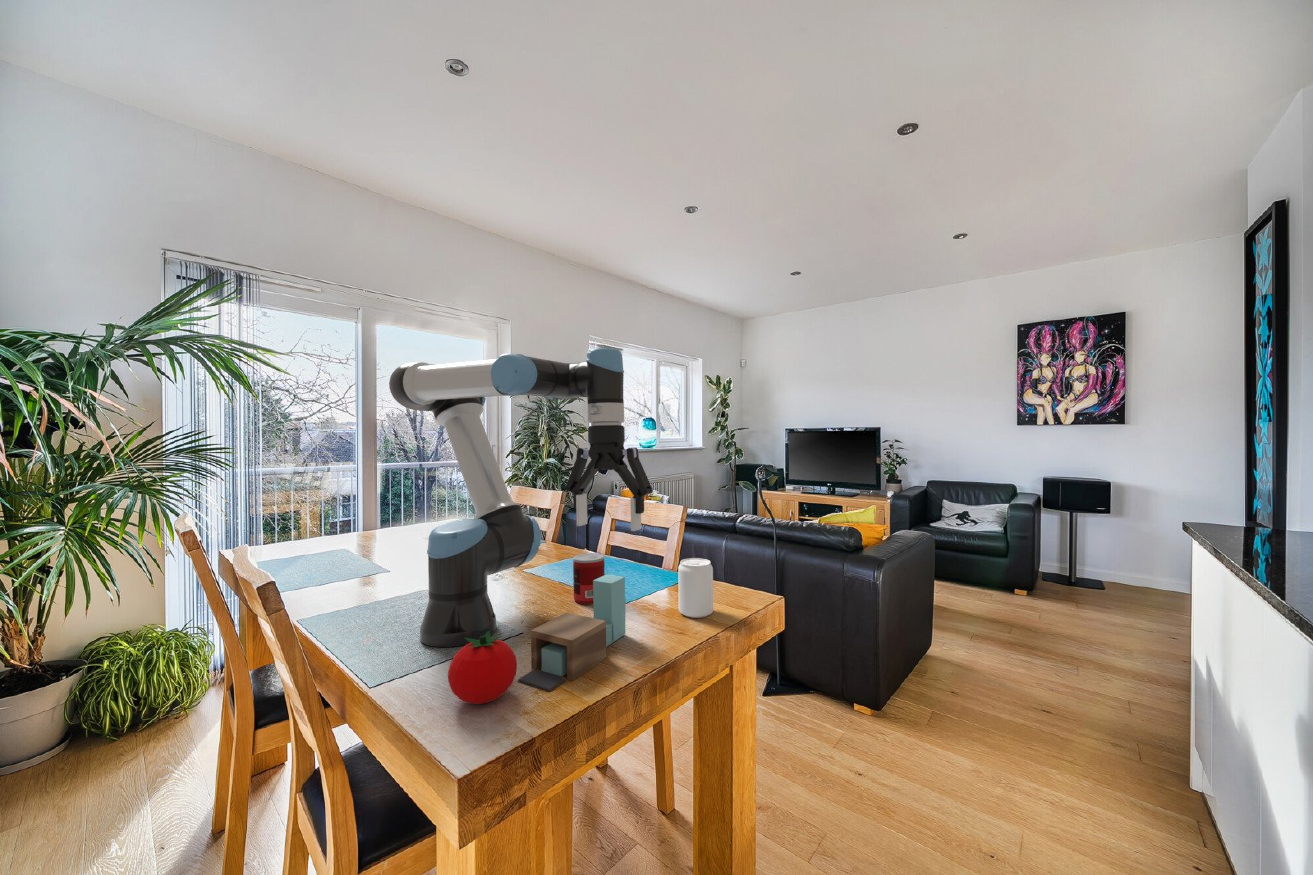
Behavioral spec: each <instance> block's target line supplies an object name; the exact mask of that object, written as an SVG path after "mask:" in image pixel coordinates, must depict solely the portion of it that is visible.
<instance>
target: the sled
mask: <svg viewBox="0 0 1313 875" xmlns="http://www.w3.org/2000/svg"><path fill="white" fill-rule="evenodd" d="M592 605H593V606H592V607H593V618H596V619H600V620H605V621H606V648H607V647H608V646H610V645H611V644H613V643H615V642H616V641H617V640H619V639H620V638H621V637H623V636H625V635H626V577H625V576H622V575H614V574H608V573H607V574H605V575H604V576H602V577H600V578H598V579H595V580H593V604H592ZM541 671H542V672H545V673H548V674H552V675H555V676H558V677H562V678H563V676H565V675H567V646H565V645H561V644H557V643H553V642H552V643H550V644H549V645H547V646H545V647H543V648H542V667H541Z"/></svg>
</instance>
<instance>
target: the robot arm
mask: <svg viewBox="0 0 1313 875" xmlns="http://www.w3.org/2000/svg"><path fill="white" fill-rule="evenodd" d="M623 362H624V359H623V354H622V352H621V351H620V350H618V349H616V348H606V347H605V348H603V347H602V348H601V347H599V348H593V349H589V350H588V351H587V352H586V357H585V361H580V362H569V363H568V362H561V361H555V360H550V359H545V358H543V359H542V358H537V357H533V356H527V355H523V354H520V353H502V354H501V355H499V356H498V357H497V358H493V359H485V360H475V361H474V360H473V361H464V362H454V363H453V362H452V363H444V364H434V363H433V364H432V363H428V362H424V361H423V362H422V361H421V362H415V361H414V362H407V363H403V364H401V365H399V366H398V367H397V368H395V369H394V371H393V372H392V373H391V375H390V377H389V383H388V384H389V391H390V394H391V395H392V397H393V399H394V400H395V401H396V402H397V403H398V404H399V405H401V406H403V407H405V409H408V410H409V409H410V410H412V411H413V410H414V411H419V412H420V411H421V412H432V414H433V417H434V419H435V421H436V423H437V425H439V426H442V427H443V428H445V431H446V433H447V436H448V438H449V439H448V440H449V441H450V444H451V447H452V450H453V452H454V456H455V458H456V462H457V464H458V466H459V469H460V472H461V474H462V479H463V481H464V484H465V486H466V490H467V492H468V494H469V497H470V500H471V503H472V506H473V508H474V511H475V516H474V518H465V519H460V520H452V521H449V522H445V523H443V524H440V525H438V526H437V527H434V529H432V530H431V532H430V533H429V535H428V543H427V550H426V554H427V558H428V568H427V569H428V573H427V574H428V602H427V605H426V608H425V612H424V614H423V615H424V616H423V619H422V623H421V624H420V628H419V635H420V636H419V639H420V642H421V643H422V644H424V645H427V646H429V647H436V648H448V647H449V648H451V647H458V646H459V647H460V646H465V645H467V644H469V643H471V642H469V641H467V640H466V639H465V638H470V639H476V640H480V636H484V635H485V634H486V633H487V632H488V631H489V632H490V636H491V635H492V634H494V632H495V631H496V630H497V616H496V613H495V611H494V608H493V605H492V602H491V599H490V596H489V593H488V576H491V575H495V574H498V573H500V572H503V571H507V570H509V569H512V568H514V569H515V568H519V567H520V566H522V565H524V564H527V563H529V562H531V561H532V560H533V559H534V558H535V557H536V556H537V554H538V553H539V547H540V546H541V544H542V532H541V531H542V530H541V527H540V524H539V522H538V521H537V520H536V518H534V517H532V515H529V514H524V512H523V509H522V507H521V505H520V503H517V502H515V501H513V500H512V499H511V496H510V493H509V490H508V488H507V485H506V482H505V480H504V477H503V475H502V471H501V470H500V466H499V463H498V461H497V459H496V456H495V453H494V451H493V448H492V446H491V443H490V440H489V437H488V435H487V432H486V429H485V427H484V424H483V422H482V419H481V415H482V413H483V412H484V405H485V403H486V400H487V398H488V397H492V398H493V397H504V396H505V397H507V396H513V397H515V396H516V397H517V396H534V397H536V396H537V397H542V398H544V397H545V398H546V399H549V400H560V401H562V400H563V401H564V400H565V399H566V400H567V399H577V398H587V399H586V401H587V422H588V424H590V425H589V426H588V427H587V442H588V443H589V448H588V447H582V448H581V447H578V448H577V450H576V457H575V461H574V464H573V467H572V470H571V472H570V475H569V477H568V479H567V482H566V486H565V491H566V492H569V493H572V495H573V508H574V510H576V511H575V512H576V513H575V514H576V527H581V526H586V525H588V498H587V496H588V495H587V493H586V491H585V490H586V489H587V488H588V486H589V484H590V483H591V482H592V480H593V479H594V477H595V475H597V473H598V472H599V471H602V470H603V471H604V470H605V471H612V470H613V471H614V472H615V473H617V474H618V476H619V477H620V478H621V480H622V482H623V483H624V484H625V485H626V487H627V489H628V490H629V491H630V493H631V494H632V495H633V496H632V497H630V500H629V502H630V503H629V504H630V531H631V532H636V531H639V530H641V529H642V514H644V512H645V497H646V496H648V495H650V494H652V493H654V489H653V487H652V484H651V482H650V480H649V479H648V476H647V473H646V471H645V469H644V467H643V465H642V462H641V460H640V456H639V450H638V448H637V447H628V448H626V449H625V446H624V444H625V441H626V440H625V437H626V436H625V434H626V432H625V431H626V430H625V426H624V425H622V424H623V423H625V401H624V399H625V398H624V375H625V374H624V373H625V370H624V363H623ZM589 458H590V461H589V460H588V459H589ZM624 458H626V459H627V462H628V464H629V467H630V469H631V471H632V472H631V471H630V470H629V467H628V465H627V463H626V462H625V460H624ZM588 461H589V463H588ZM587 463H588V464H587ZM585 468H586V469H585Z"/></svg>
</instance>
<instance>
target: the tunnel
mask: <svg viewBox="0 0 1313 875" xmlns="http://www.w3.org/2000/svg"><path fill="white" fill-rule="evenodd" d="M552 642H553V643H557V644H561V645H565V646H567V673H566V678H567V680H568V681H571V682H574V681H575V680H577V679H578V678H579V677H581V676H582V675H584V674H585V673H587V672H588V671H590V670H591V669H592V668H594V667H595V666H597V665H599V664H600V663H601V662H602V661H604V660H605V659H607V647H606V621H605V620H600V619H596V618H594V617H591V616H586V615H582V614H576V613H571V612H564V613H563V614H561V615H558V616H557V617H555V618H553V619H551V620H548V621H547V622H545V623H542V624H541V625H539V626H537V627H534V628H533V629H531V630H530V648H531V649H530V652H531V653H530V654H531V656H530V657H531V658H530V659H531V662H530V663H531V664H530V666H531V670H532V671H533V670H534V669H535V670H538V671H539V670H540V669H542V648H543V647H545V646H547V645H549V644H550V643H552Z"/></svg>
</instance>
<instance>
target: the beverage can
mask: <svg viewBox="0 0 1313 875" xmlns="http://www.w3.org/2000/svg"><path fill="white" fill-rule="evenodd" d="M711 563H712V562H711V560H709V559H705V558H701V557H690V558H684V559H681V560H680V562H679V565H678V568H677V570H678V571H677V572H678V573H677V574H678V578H677V579H678V580H677V581H678V586H677V589H678V592H677V593H678V612H679V613H680V614H682V615H684V616H685V617H688V618H695V619H697V618H699V619H701V618H705V617H708V616H710V615H711V614H712V613H713V612H714V568H713V566H712V564H711Z"/></svg>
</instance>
